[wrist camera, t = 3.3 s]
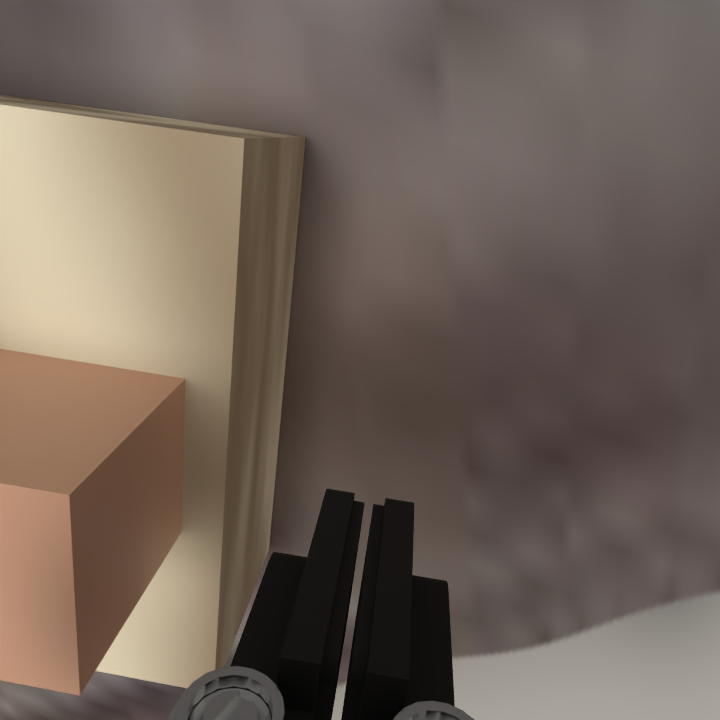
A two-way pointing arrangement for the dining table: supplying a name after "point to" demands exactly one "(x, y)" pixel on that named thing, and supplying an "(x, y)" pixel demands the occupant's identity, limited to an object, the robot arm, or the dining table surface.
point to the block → (81, 508)
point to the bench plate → (164, 326)
